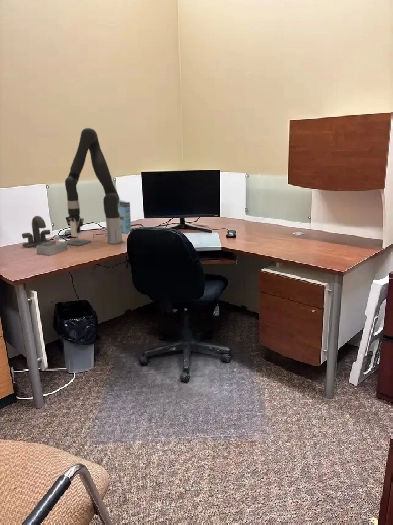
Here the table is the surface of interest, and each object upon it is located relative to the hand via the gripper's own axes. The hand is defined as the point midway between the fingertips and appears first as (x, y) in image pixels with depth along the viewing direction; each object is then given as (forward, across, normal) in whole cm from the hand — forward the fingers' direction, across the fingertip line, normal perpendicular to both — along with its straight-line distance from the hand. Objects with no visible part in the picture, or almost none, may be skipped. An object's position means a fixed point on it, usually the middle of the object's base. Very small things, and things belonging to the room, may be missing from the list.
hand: (75, 232), depth 278 cm
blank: (+2, 0, 0) cm, 2 cm away
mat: (+7, 0, 0) cm, 7 cm away
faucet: (+8, -18, -15) cm, 24 cm away
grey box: (+7, 0, -22) cm, 23 cm away
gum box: (+7, +7, +42) cm, 43 cm away
